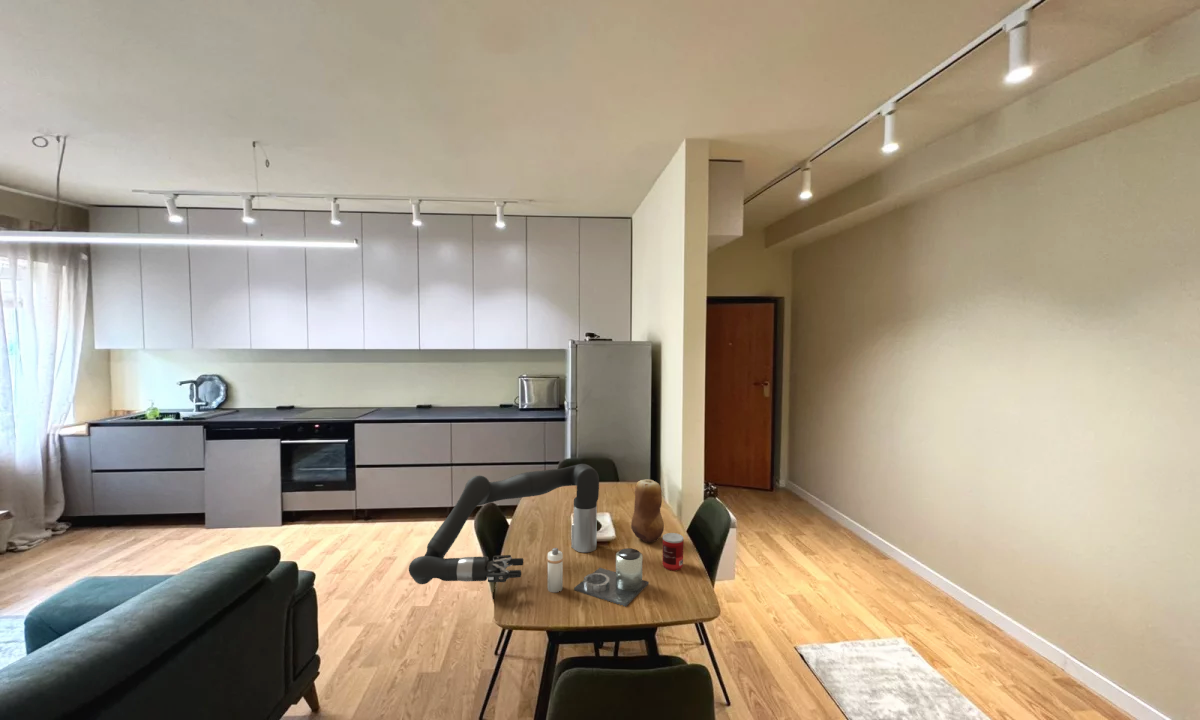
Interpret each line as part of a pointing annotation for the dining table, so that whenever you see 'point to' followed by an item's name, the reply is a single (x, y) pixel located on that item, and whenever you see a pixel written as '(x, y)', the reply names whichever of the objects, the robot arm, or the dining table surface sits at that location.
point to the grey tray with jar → (617, 579)
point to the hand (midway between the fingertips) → (522, 567)
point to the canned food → (672, 551)
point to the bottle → (555, 570)
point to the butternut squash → (647, 511)
